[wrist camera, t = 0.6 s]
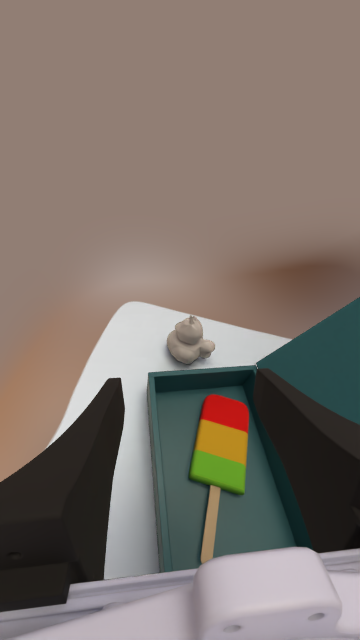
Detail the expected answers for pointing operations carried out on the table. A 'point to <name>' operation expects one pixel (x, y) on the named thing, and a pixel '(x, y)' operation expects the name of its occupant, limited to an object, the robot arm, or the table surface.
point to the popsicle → (219, 457)
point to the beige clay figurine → (189, 341)
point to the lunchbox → (192, 497)
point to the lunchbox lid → (325, 362)
